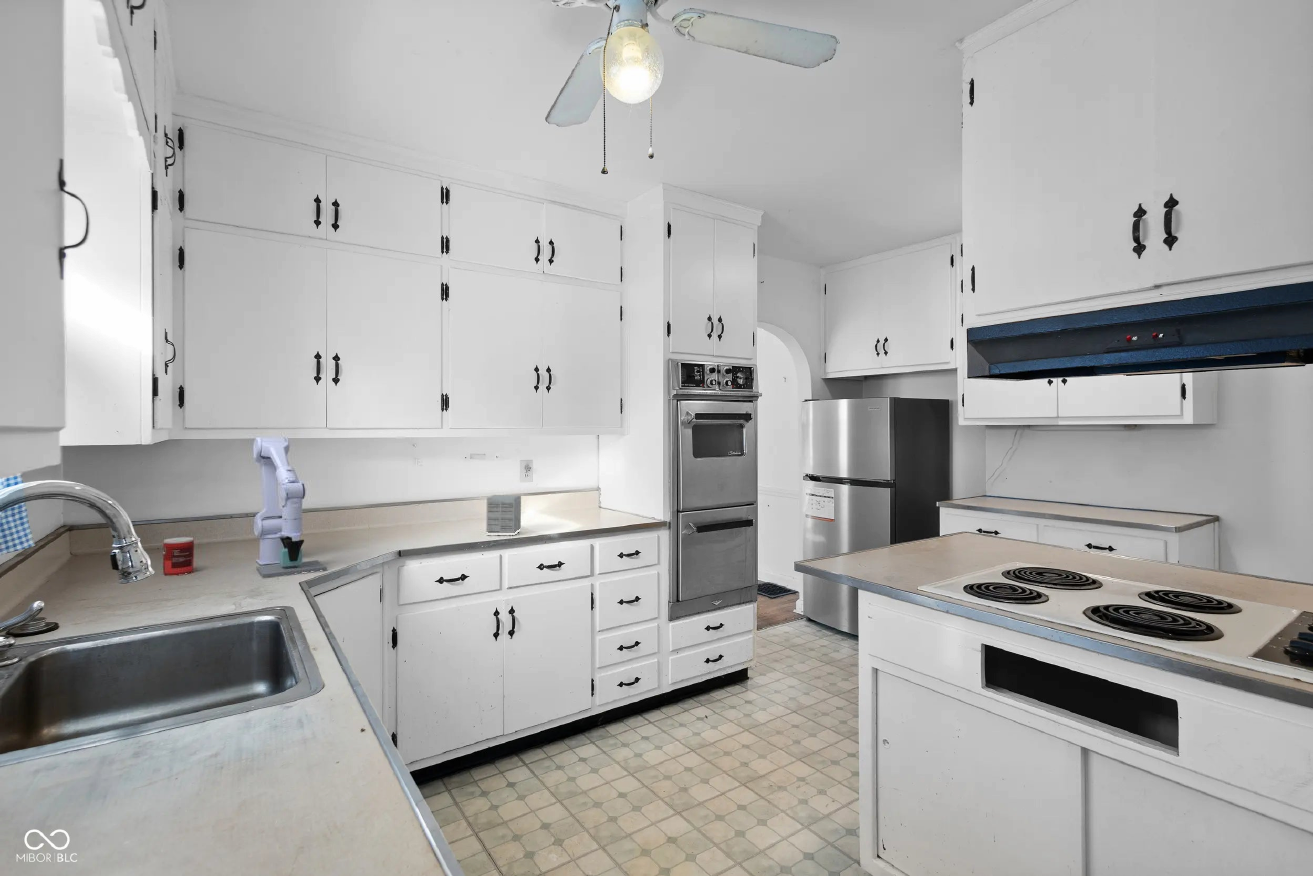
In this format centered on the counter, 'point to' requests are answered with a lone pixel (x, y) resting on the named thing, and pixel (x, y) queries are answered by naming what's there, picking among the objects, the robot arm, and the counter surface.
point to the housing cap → (285, 558)
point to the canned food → (178, 556)
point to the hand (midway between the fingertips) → (291, 559)
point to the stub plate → (290, 569)
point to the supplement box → (503, 513)
